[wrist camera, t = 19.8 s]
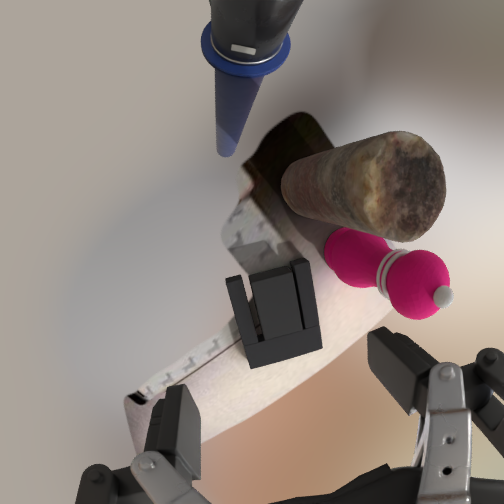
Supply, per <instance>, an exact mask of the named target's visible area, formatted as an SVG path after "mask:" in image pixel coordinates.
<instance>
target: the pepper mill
mask: <svg viewBox="0 0 504 504" xmlns="http://www.w3.org/2000/svg"><path fill="white" fill-rule="evenodd" d="M324 256H325V260H326V262H327V264H328V266H329V267H330V268H331V269H332V270H334V271H335V273H336V275H337V276H338V278H339V279H340V280H342V281H343V282H344V283H346V284H348V285H350V286H353V287H359V288H367V287H373V286H374V287H378V290H379V292H380V293H381V294H382V295H383V296H384V297H385V298H387V299H388V300H390V301H391V304H392V306H393V307H394V308H395V309H396V311H397V312H398V313H400V314H401V315H403V316H404V317H407V318H410V319H415V320H421V319H425V318H428V317H430V316H432V315H433V314H435V313H436V312H437V311H438V310H439V309H440V308H447V307H448V306H450V305H451V303H452V301H453V297H454V295H453V291H452V289H451V288H450V278H449V272H448V270H447V267H446V265H445V264H444V262H443V261H442V259H441V258H440V257H438V256H437V255H435V254H434V253H432V252H429V251H425V250H415V251H407V250H405V249H395V250H392V249H390V248H389V247H388V245H387V243H386V241H385V240H384V239H383V238H381V237H378V236H375V235H372V234H369V233H365V232H361V231H357V230H354V229H350V228H347V227H344V228H340V229H338V230H336V231H335V232H333V233H332V234H331V235H330V237H329V238H328V240H327V242H326V244H325V249H324Z"/></svg>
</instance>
